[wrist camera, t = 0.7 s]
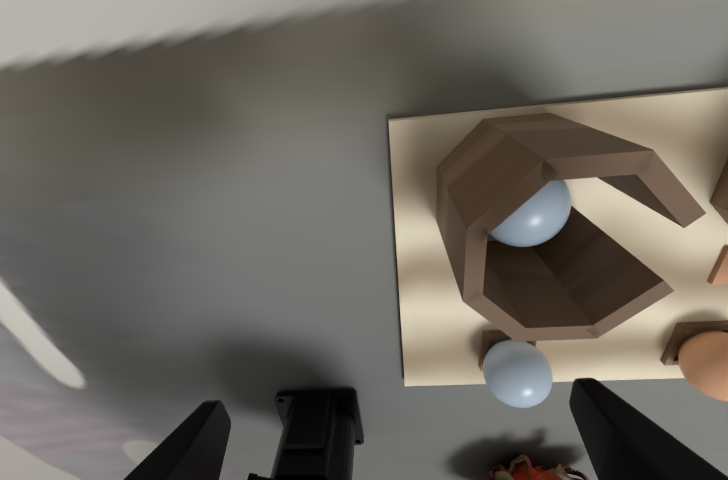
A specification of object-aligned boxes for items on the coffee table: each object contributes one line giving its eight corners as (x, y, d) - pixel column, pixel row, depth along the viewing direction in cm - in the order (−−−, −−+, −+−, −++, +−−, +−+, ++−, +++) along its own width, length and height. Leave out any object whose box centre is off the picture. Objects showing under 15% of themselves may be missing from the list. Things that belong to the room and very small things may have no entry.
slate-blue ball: (532, 368, 24) (558, 421, 21) (474, 369, 24) (490, 423, 21) (541, 324, 22) (571, 375, 19) (477, 327, 23) (495, 378, 19)
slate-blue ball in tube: (542, 221, 19) (579, 260, 15) (467, 226, 19) (486, 266, 16) (554, 148, 17) (599, 173, 13) (470, 155, 17) (494, 181, 14)
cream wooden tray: (779, 367, 24) (933, 489, 17) (404, 379, 26) (412, 491, 19) (986, 62, 15) (1473, 70, 8) (388, 119, 17) (393, 161, 10)
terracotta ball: (717, 361, 23) (777, 417, 20) (654, 363, 23) (702, 418, 20) (742, 316, 21) (814, 368, 18) (673, 319, 22) (730, 370, 18)
